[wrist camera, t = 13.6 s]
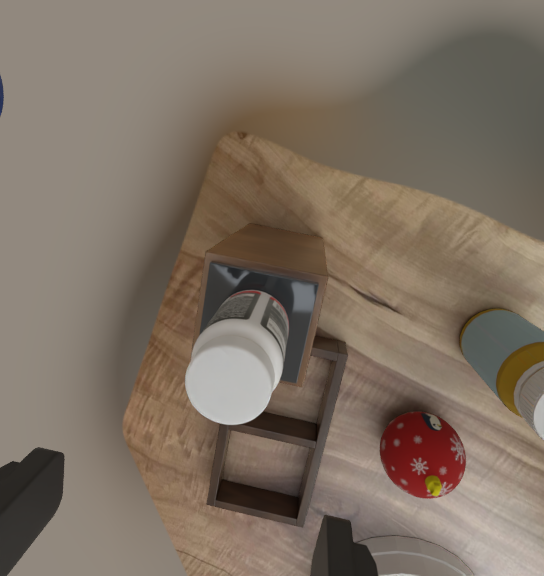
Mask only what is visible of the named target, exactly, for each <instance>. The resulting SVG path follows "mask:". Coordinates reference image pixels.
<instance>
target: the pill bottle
mask: <svg viewBox="0 0 544 576" xmlns="http://www.w3.org/2000/svg"><path fill="white" fill-rule="evenodd" d="M288 333H289V321H288V317H287V314H286V311H285V309H284V308H283V306H282V305H281V304H280V302H279V301H277V300H276V299H275V298H274V297H272V296H271V295H269V294H267V293H265V292H262V291H258V290H245V291H240V292H237V293H235V294H233V295H232V296H230V297H229V298H228V299H226V301H225V302H224V303H223V304H222V305H221V306H220V308H219V309H218V310H217V312H216V313H215V315H214V316H213V317H212V319H211V320H210V322H209V323H208V324H207V326H206V327H205V329H204V330H203V331H202V333H201V334H200V335H199V337H198V339H197V341H196V342H195V345H194V347H193V350H192V355H191V362H190V364H189V366H188V368H187V371H186V376H185V387H186V392H187V395H188V398H189V399H190V401H191V403H192V405H193V406H194V407H195V408H196V409H197V410H198V412H200V413H201V414H202V415H203V416H205V417H206V418H208V419H210V420H212V421H214V422H217V423H220V424H226V425H237V424H242V423H246V422H248V421H251V420H253V419H255V418H256V417H257V416H259V415H260V414H261V413H262V412H263V411H264V409H265V408H266V406H267V405H268V403H269V400H270V397H271V393H272V392H273V391H274V389H275V388H276V386H277V385H278V383H279V381H280V378H281V375H282V371H283V365H284V358H285V352H286V345H287V339H288Z"/></svg>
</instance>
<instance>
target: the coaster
mask: <svg viewBox="0 0 544 576" xmlns="http://www.w3.org/2000/svg"><path fill="white" fill-rule="evenodd" d="M318 287H319V283H318V282H314V281H309V280H304V279H299V278H294V277H290V276H285V275H280V274H275V273H270V272H265V271H260V270H255V269H250V268H246V267H241V266H236V265H231V264H226V263H221V262H216V261H211V262H210V264H209V271H208V278H207V285H206V292H205V299H204V306H203V313H202V319H201V326H200V333H199V335H200V334H201V333H202V331H203V330H204V329H205V327H206V326H207V324H208V323H209V322H210V320H211V319H212V317H213V316H214V315H215V313H216V312H217V310H218V309H219V308H220V306H221V305H222V304H223V303H224V302H225V301H226V299H228V298H229V297H230V296H232V295H233V294H235V293H237V292H240V291H245V290H258V291H262V292H265V293H267V294H269V295H271V296H272V297H274V298H275V299H276V300H277V301H279V302H280V304H281V305H282V306H283V308H284V309H285V311H286V314H287V317H288V321H289V333H288V339H287V345H286V352H285V358H284V365H283V371H282V375H281V378H280V380H282V381H287V382H291V383H297V381H298V376H299V372H300V367H301V363H302V358H303V354H304V349H305V345H306V341H307V336H308V332H309V327H310V323H311V318H312V314H313V309H314V305H315V301H316V296H317V292H318Z"/></svg>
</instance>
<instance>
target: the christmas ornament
mask: <svg viewBox="0 0 544 576" xmlns="http://www.w3.org/2000/svg"><path fill="white" fill-rule="evenodd" d="M380 456H381V461H382V464H383V467H384V469H385V471H386V473H387V475H388V476H389V478H390V479H391V480H392V481H393V482H394V484H395V485H397V486H398V487H399V488H400V489H401V490H403V491H405V492H406V493H408V494H410V495H413V496H416V497H420V498H437V497H441V496H443V495H446V494H447V493H449V492H451V491H452V490H453V489H454V488H455V487H456V486H457V485H458V484H459V482H460V481H461V479H462V477H463V474H464V471H465V465H466V456H465V450H464V447H463V444H462V442H461V439H460V437H459V436H458V434H457V433H456V431H455V430H454V429H453V428H452V427H451V426H450V425H449V424H448V423H447V422H446V421H444V420H443V419H441V418H440V417H438V416H436V415H433V414H430V413H427V412H419V411H414V412H408V413H404V414H402V415H400V416H398V417H396V418H395V419H393V420H392V421H391V422H390V423H389V424H388V426H387V427H386V429H385V430H384V432H383V435H382V438H381V442H380Z"/></svg>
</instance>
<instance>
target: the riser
mask: <svg viewBox="0 0 544 576" xmlns="http://www.w3.org/2000/svg"><path fill="white" fill-rule="evenodd" d="M211 261H216V262H221V263H226V264H231V265H236V266H241V267H246V268H250V269H255V270H260V271H265V272H270V273H275V274H280V275H285V276H290V277H294V278H299V279H304V280H309V281H314V282H318V283H319V287H318V292H317V296H316V301H315V305H314V309H313V314H312V318H311V323H310V327H309V332H308V336H307V341H306V345H305V349H304V354H303V358H302V363H301V367H300V372H299V376H298V381H297V383H291V382H287V381H282V380H280V381H279V382H280V383H285V384H290V385H294V386H299V387H303V385H304V380H305V376H306V372H307V367H308V363H309V359H310V354H311V350H312V346H313V341H314V337H315V333H316V328H317V324H318V320H319V315H320V311H321V307H322V302H323V298H324V293H325V289H326V285H327V280H328V272H327V265H326V257H325V250H324V243H323V238H321V237H316V236H311V235H306V234H301V233H296V232H291V231H286V230H281V229H276V228H271V227H266V226H261V225H256V224H251V223H249V224H248V225H246V226H245V227H243V228H242V229H240V230H239V231H237V232H235V233H234V234H232V235H231V236H229V237H228V238H226V239H225V240H223V241H222V242H220V243H218V244H217V245H215V246H214V247H212V248H211V249H209V250H208V251H206V253H205V260H204V267H203V274H202V281H201V288H200V296H199V303H198V310H197V317H196V324H195V331H194V338H193V345H192V350H193V347H194V345H195V342H196V341H197V339H198V337H199V333H200V326H201V319H202V313H203V306H204V299H205V292H206V285H207V278H208V271H209V264H210V262H211ZM191 355H192V352H191ZM190 362H191V359H190Z"/></svg>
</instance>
